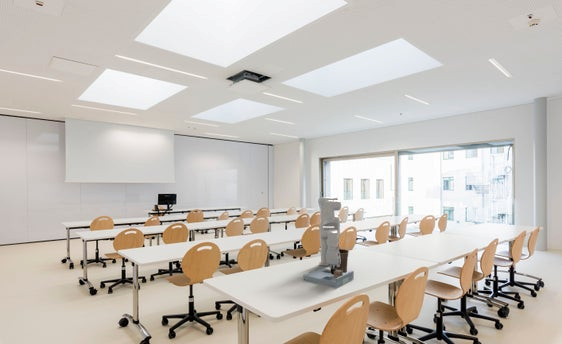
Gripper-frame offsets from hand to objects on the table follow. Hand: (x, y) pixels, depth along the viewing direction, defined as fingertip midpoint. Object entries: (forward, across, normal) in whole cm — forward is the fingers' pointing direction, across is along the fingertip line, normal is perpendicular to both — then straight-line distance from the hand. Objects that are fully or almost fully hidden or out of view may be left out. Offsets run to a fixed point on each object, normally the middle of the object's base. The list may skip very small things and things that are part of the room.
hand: (333, 274), depth 223 cm
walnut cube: (+1, -4, 0) cm, 5 cm away
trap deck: (+4, +4, 0) cm, 6 cm away
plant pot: (+4, +8, -22) cm, 24 cm away
